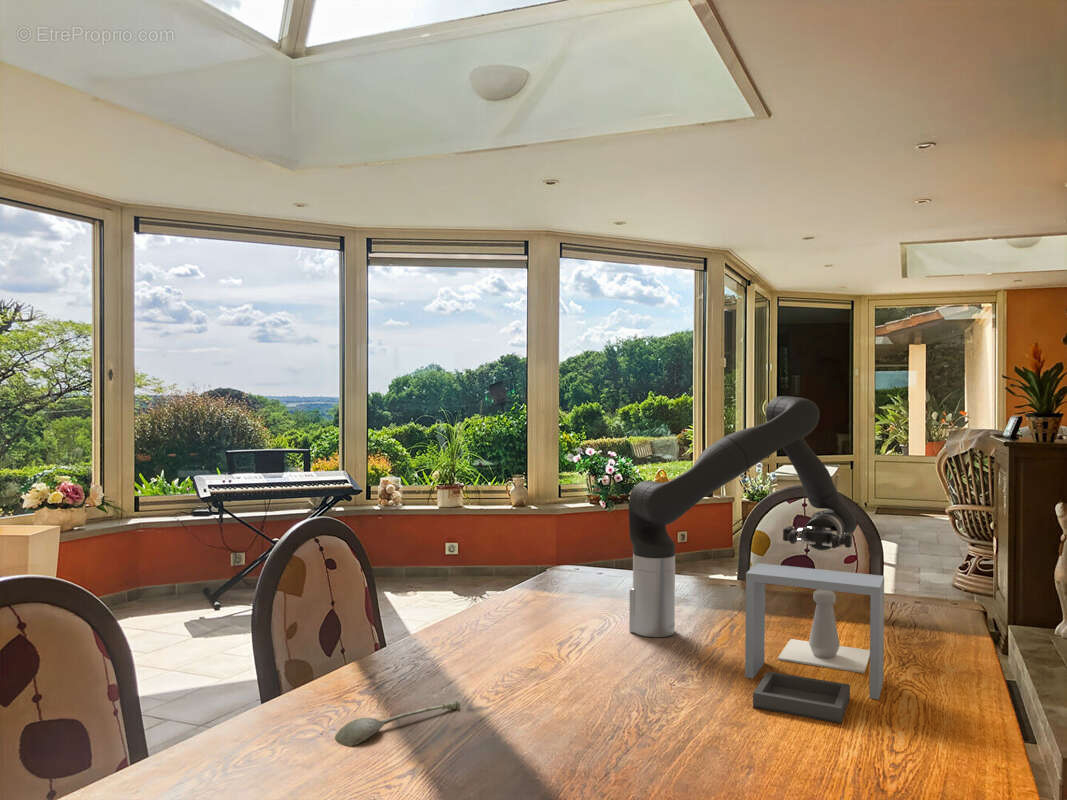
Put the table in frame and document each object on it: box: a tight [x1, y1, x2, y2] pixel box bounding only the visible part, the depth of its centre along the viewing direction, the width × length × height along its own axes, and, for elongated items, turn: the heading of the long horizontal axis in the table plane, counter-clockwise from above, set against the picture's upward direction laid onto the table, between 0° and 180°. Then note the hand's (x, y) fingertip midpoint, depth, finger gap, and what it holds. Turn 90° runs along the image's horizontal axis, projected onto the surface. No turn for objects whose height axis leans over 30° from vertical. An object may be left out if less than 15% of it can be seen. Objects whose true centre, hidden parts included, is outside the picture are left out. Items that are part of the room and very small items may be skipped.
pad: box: [777, 638, 870, 674], centre depth 162 cm, size 16×14×1 cm
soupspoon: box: [334, 700, 461, 747], centre depth 128 cm, size 22×3×7 cm
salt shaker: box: [808, 589, 841, 658], centre depth 162 cm, size 6×6×13 cm
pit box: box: [752, 671, 851, 725], centre depth 138 cm, size 14×12×2 cm
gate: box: [744, 562, 885, 700], centre depth 149 cm, size 23×10×20 cm, turn 62°
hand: (812, 541), depth 172 cm, fingers open, 8 cm apart
